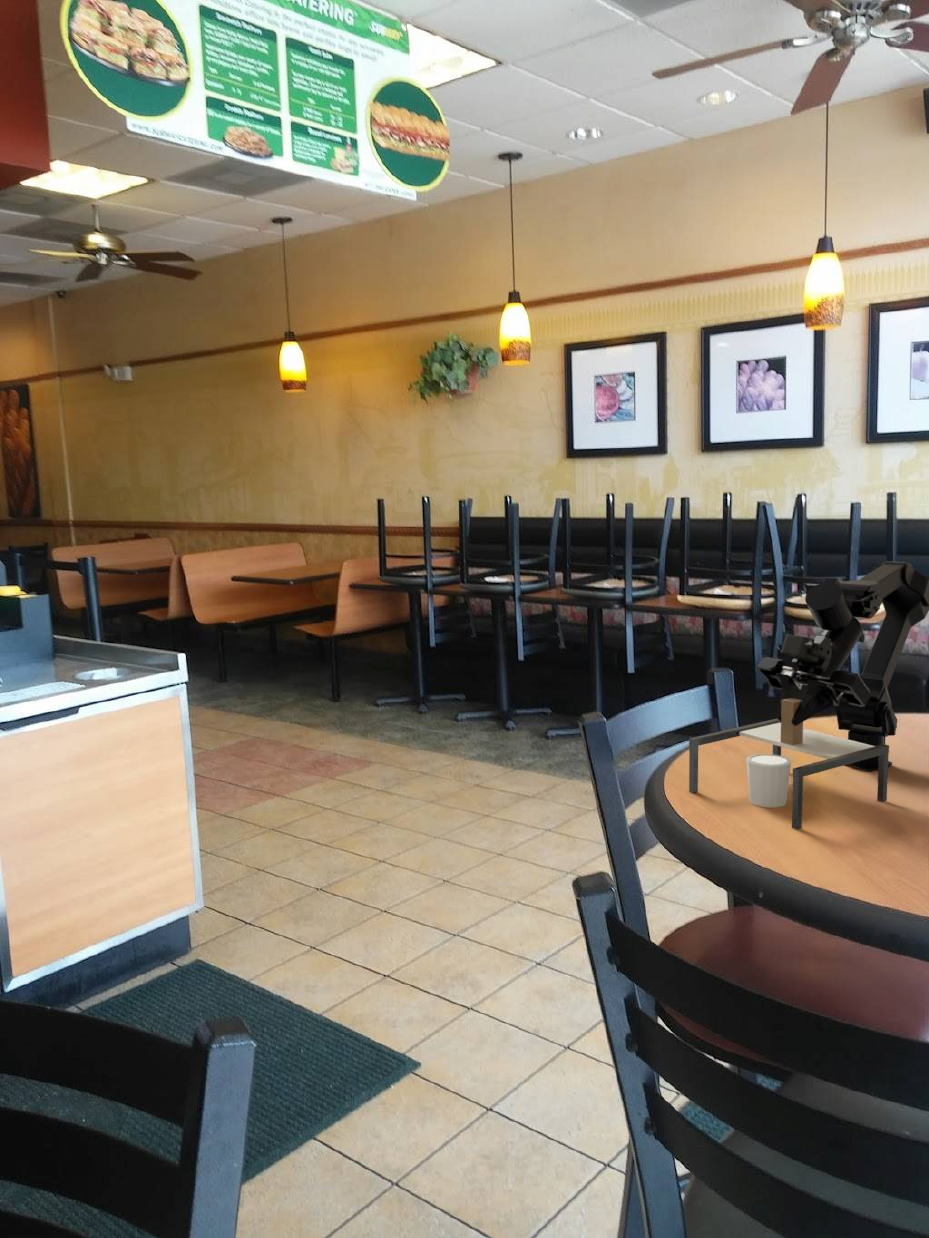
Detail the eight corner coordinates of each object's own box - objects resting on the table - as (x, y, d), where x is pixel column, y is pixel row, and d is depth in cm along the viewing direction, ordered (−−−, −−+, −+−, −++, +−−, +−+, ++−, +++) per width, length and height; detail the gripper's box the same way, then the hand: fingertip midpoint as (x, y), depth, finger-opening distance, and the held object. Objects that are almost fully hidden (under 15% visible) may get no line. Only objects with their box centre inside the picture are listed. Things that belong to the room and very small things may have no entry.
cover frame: (776, 768, 178) (777, 718, 177) (887, 800, 160) (889, 745, 158) (688, 791, 167) (689, 738, 165) (796, 829, 148) (798, 770, 147)
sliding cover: (779, 725, 175) (780, 683, 174) (876, 750, 159) (878, 703, 158) (739, 735, 170) (740, 691, 169) (835, 761, 154) (837, 713, 152)
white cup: (792, 809, 157) (793, 766, 156) (747, 807, 158) (748, 764, 157) (787, 795, 163) (788, 753, 162) (744, 793, 165) (744, 752, 164)
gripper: (764, 609, 169) (717, 682, 165) (861, 622, 154) (811, 703, 149) (795, 650, 175) (750, 722, 170) (891, 666, 159) (844, 746, 155)
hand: (786, 722), depth 161 cm, fingers closed on sliding cover, 2 cm apart
